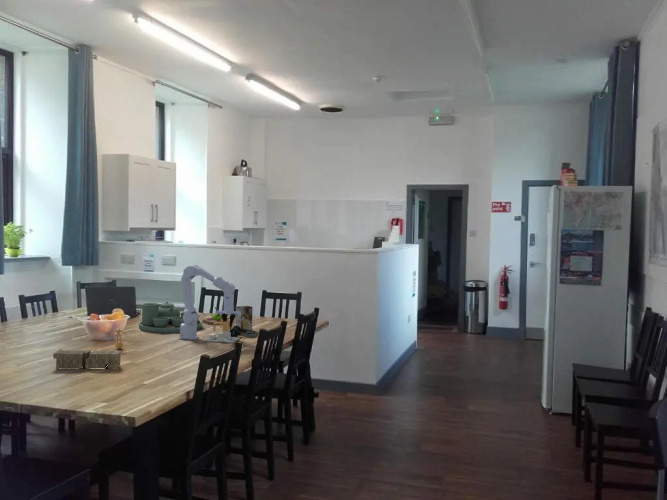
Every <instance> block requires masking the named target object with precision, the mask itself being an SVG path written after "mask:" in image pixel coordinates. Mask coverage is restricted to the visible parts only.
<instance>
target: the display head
mask: <svg viewBox="0 0 667 500" xmlns="http://www.w3.org/2000/svg"><path fill="white" fill-rule="evenodd" d="M229 331H230V330H228V331H223V330H222V332H212V333H210V334H208V335H209V336H208V338H206V339H204V341H203V342H205V343H206V342H207V343H222V344H223V343H224V344H226V343H227V344H235V343H236V342H238V341H239V340H240V339H241V337H238V336H237V337H231V332H229ZM237 340H238V341H237ZM234 342H235V343H234Z"/></svg>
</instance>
